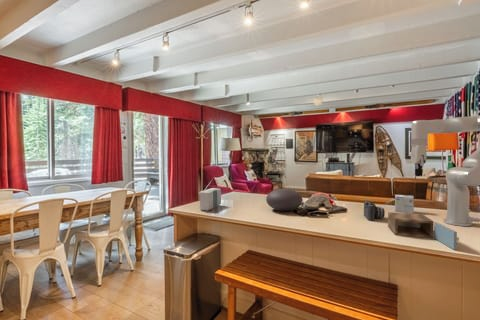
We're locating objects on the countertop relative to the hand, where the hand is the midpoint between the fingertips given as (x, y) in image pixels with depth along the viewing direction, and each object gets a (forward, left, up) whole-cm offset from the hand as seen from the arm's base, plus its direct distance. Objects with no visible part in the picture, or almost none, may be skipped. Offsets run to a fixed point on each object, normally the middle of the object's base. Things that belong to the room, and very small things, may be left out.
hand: (418, 175), depth 146 cm
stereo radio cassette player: (+129, -9, -27) cm, 132 cm away
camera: (+21, -8, -27) cm, 35 cm away
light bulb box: (-2, -32, -27) cm, 42 cm away
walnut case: (+9, +17, -27) cm, 33 cm away
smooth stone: (+76, -15, -27) cm, 82 cm away
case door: (-1, +32, -27) cm, 42 cm away
